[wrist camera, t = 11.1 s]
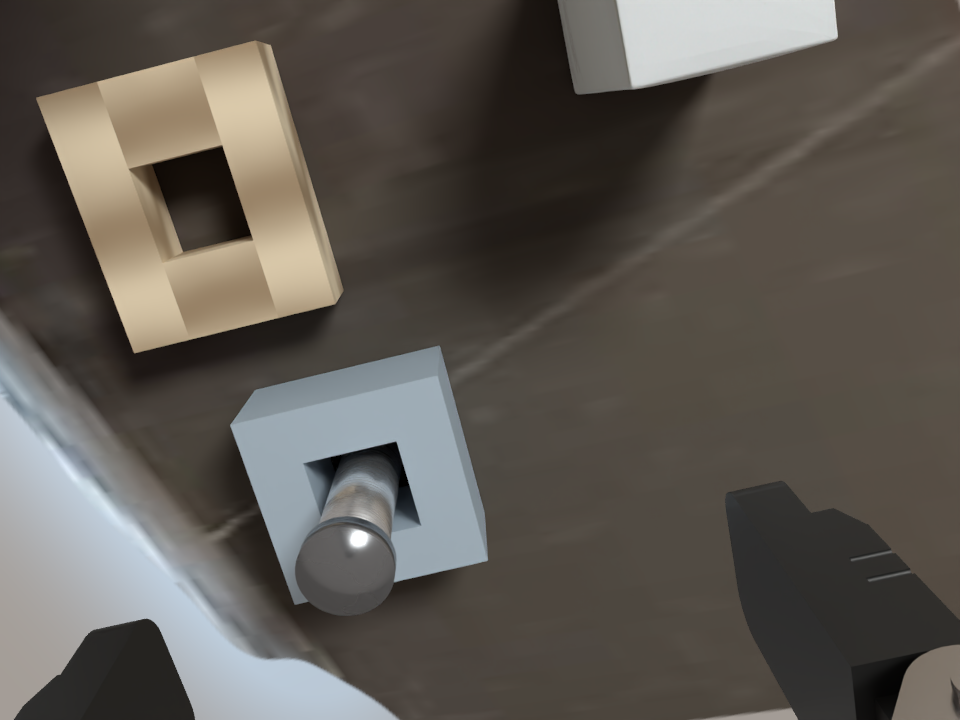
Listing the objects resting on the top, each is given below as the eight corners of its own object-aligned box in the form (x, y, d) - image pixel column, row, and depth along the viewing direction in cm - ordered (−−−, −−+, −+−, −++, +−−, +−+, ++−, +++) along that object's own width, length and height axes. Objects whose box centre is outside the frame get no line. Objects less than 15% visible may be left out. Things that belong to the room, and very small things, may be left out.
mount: (66, 98, 39) (35, 97, 36) (270, 45, 38) (255, 40, 36) (156, 336, 42) (134, 353, 40) (343, 290, 42) (335, 304, 39)
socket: (255, 390, 43) (230, 425, 39) (439, 345, 43) (437, 375, 38) (311, 553, 46) (294, 604, 42) (484, 513, 46) (487, 560, 41)
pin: (327, 428, 44) (281, 541, 33) (399, 410, 44) (379, 518, 33) (348, 493, 45) (311, 625, 34) (419, 477, 45) (406, 603, 34)
